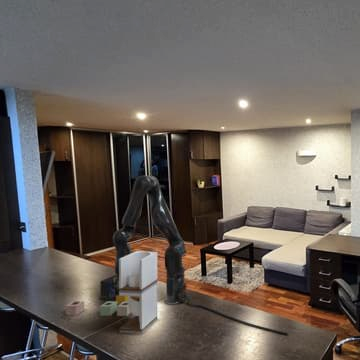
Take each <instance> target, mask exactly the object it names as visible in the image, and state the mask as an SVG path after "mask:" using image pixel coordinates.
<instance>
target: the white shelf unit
mask: <svg viewBox="0 0 360 360" xmlns="http://www.w3.org/2000/svg"><path fill="white" fill-rule="evenodd" d="M119 295H120V296H129V301H128V302H129V311H130V312H131V313H130V314H132V315H133V316H134V317H132V318H131V319H129V320H128V321H127V322H125V323H124V324H123V325H122V326H121V327H119V331H118V332H119V334H136V335H137V334H138V335H142V334H144V333H145V331H147V330H148V329H149V328H150V327H151V326H153V325H154V324H155V323H156V322H158V251H145V250H144V251H142V250H141V251H140V250H136V251H134V252H131V254H129V255H127V256H124V257H122V258H120V259H119Z"/></svg>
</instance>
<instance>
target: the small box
mask: <svg viewBox="0 0 360 360" xmlns="http://www.w3.org/2000/svg"><path fill="white" fill-rule="evenodd" d="M116 277H117V274H114V275H112V276H109V277H107V278H105V279H102V280H100V285H99V288H100V289H99V290H100V292H99V293H100V294H99V299H101V300H107V301H109V300H112V299H113V298H116V295H115V289H112V279H113V278H116ZM118 283H119V281H118ZM118 286H119V285H118ZM114 287H115V285H114Z"/></svg>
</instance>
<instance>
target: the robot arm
mask: <svg viewBox="0 0 360 360" xmlns="http://www.w3.org/2000/svg"><path fill="white" fill-rule="evenodd" d="M161 189H162V188H161V186H160V183H159V180H158V179H157V177H155V176H154V175H151V174H150V175H149V174H147V175H139V176H138V177H137V178H136V179H135V180H134V184H133V188H132V191H131V196H130V200H129V203H128V206H127V209H126V211H125V213H124V215H123V217H122V219H121V224H122V228H120V229H118V230H116V231H115V232H114V233H113V235H112V242H113V245H114V248H115V258H114V273H115V275H117V277H116V278H113V279H112V289H115V295H118V296H119V286H118V285H119V283H118V281H119V259H120V258H122V257H124V256H127V255H129V254H131V253H132V246H131V244H128V240H130V239H132V238H133V236H134V235H135V233H136V227H137V223H138V221H139V220H140V217H141V214H142V210H143V209H142V208H143V201H144V198H145V197H146V195H147V197H148V199H149V202H150V216H151V220H152V221H153V224H154V226H155V227H156V229H157V230H158V231H159V232H160V233H161V234H162V235H163V236H164V237H165V239H166V240H167V243H168V245H169V246H167V248H166V249H165V251H164V268H165V271H166V272H165V273H166V277H165V279H166V281H165V283H166V285H165V287H166V292H165V293H166V294H165V295H166V296H165V297H166V298H165V303H166V304H167V305H177V304H182V303H183V302H184V301H185V300H186V299H187V305H188V306H190V307H194V308H195V307H196V308H197V307H199V308H203V309H206V310H208V311H210V312H213V313H215V314H218V315H220V316H223V317H225V318H228V319H231V320H233V321H236V322H237V323H238V322H239V323H241V324H245V325H248V326H251V327H255V328H257V329H262V330H265V331H269V332H274V333H278V334H283V335H288V332H285V331H281V330H277V329H274V328H269V327H265V326H261V325H257V324H253V323H250V322H248V321H244V320H241V319H239V318H235V317H234V316H230V315H227V314H225V313H223V312H220V311H219V310H216V309H213V308H210V307H208V306H206V305H202V304H191V303H190V297H188V296H187V283H186V281H185V274H186V273H185V272H186V271H185V270H186V269H185V264H183V259H182V258H183V257H184V256H186V254H187V250H188V249H187V246H186V244H185V242H184V240H183V238H182V236H181V235H180V233H179V230H178V229H177V226H176V224H175V221H174V218H173V216H172V214H171V212H170V210H169V209H170V208H169V207H168V205H167V202H166V200H165V198H164V195H163V193H162V190H161ZM114 285H115V287H114Z"/></svg>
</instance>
